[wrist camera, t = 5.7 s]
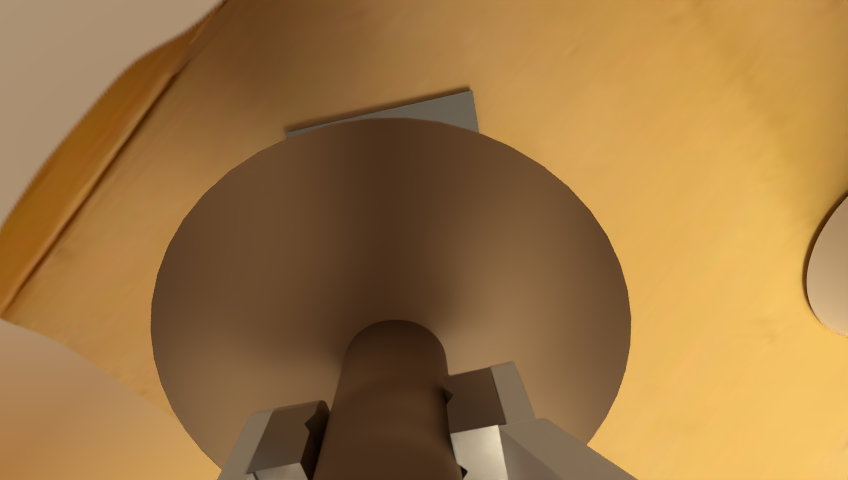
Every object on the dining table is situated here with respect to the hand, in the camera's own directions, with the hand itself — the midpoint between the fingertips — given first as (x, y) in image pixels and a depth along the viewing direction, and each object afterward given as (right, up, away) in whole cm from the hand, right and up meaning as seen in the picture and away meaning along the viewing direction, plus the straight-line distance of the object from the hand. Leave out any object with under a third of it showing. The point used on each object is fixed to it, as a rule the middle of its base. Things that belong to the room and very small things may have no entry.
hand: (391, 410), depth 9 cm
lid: (0, +1, +2) cm, 3 cm away
